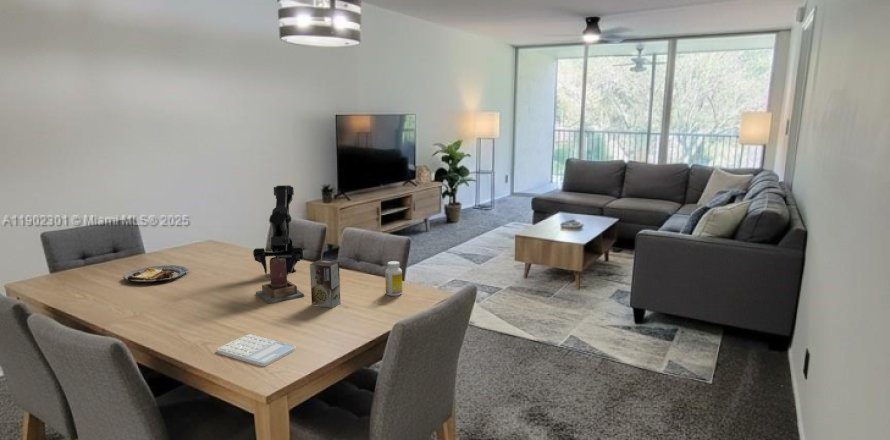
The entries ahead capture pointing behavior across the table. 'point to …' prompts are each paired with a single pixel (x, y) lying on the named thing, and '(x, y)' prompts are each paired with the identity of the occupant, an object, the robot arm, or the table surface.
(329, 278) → the coffee box
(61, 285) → the table surface
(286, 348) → the calculator
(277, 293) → the collar
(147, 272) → the food plate
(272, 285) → the can
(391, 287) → the supplement bottle
